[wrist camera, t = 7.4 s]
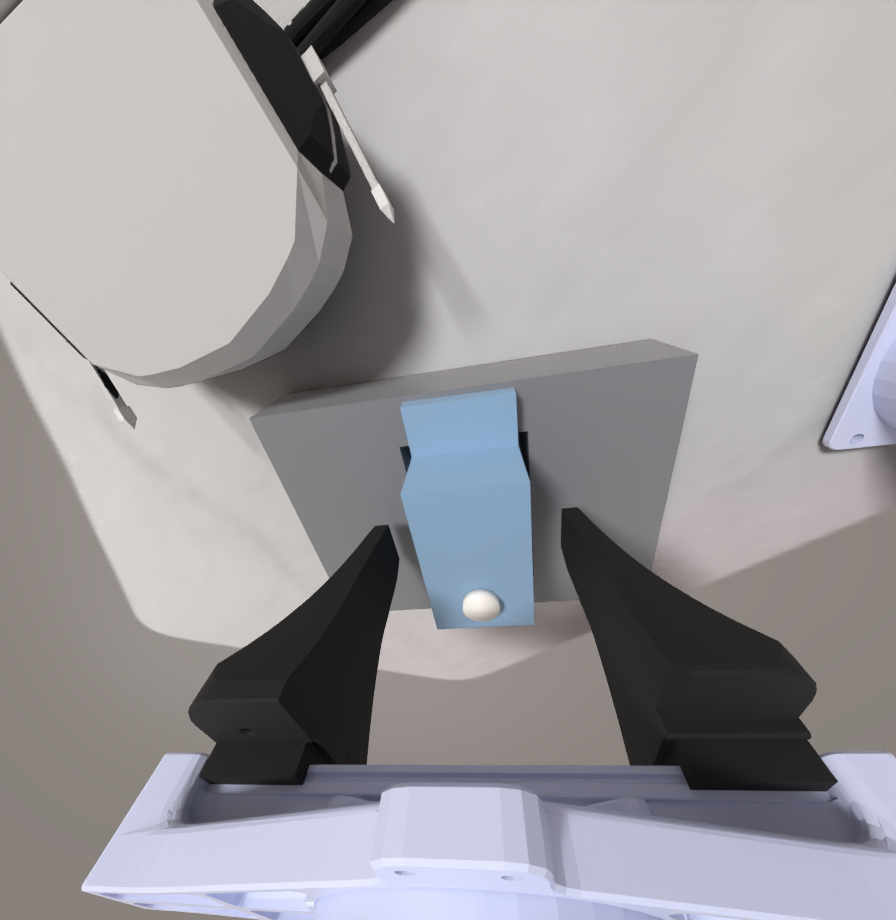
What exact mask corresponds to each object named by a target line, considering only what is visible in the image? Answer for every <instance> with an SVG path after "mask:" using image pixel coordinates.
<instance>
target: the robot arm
mask: <svg viewBox="0 0 896 920" xmlns="http://www.w3.org/2000/svg"><path fill="white" fill-rule="evenodd" d="M822 443H823V445H824V446H826V447H828V448H830V449H832V450H843V449H853V448H862V447H872V446H882V445H891V444H896V283H895V285H894V287H893V289H892V291H891V294H890V296H889V298H888V300H887V302H886V304H885V307H884V309H883V311H882V313H881V315H880V317H879V319H878V322H877V324H876V326H875V328H874V330H873V332H872V334H871V337H870V339H869V341H868V343H867V345H866V347H865V349H864V352H863V354H862V356H861V358H860V360H859V362H858V365H857V367H856V369H855V371H854V373H853V375H852V377H851V380H850V382H849V384H848V386H847V388H846V390H845V392H844V395H843V397H842V399H841V401H840V403H839V405H838V408H837V410H836V412H835V414H834V416H833V418H832V420H831V423H830V425H829V427H828V429H827V431H826V433H825V435H824V438H823V442H822ZM561 549H562V553H563V556H564V560H565V563H566V567H567V570H568V573H569V575H570V578H571V580H572V583H573V585H574V588H575V590H576V592H577V595H578V597H579V600H580V602H581V604H582V607H583V609H584V612H585V614H586V617H587V619H588V621H589V624H590V627H591V630H592V632H593V635H594V638H595V642H596V645H597V648H598V651H599V655H600V658H601V661H602V665H603V668H604V671H605V675H606V678H607V682H608V685H609V689H610V692H611V696H612V699H613V703H614V707H615V710H616V714H617V717H618V721H619V725H620V728H621V732H622V736H623V740H624V744H625V748H626V752H627V755H628V759H629V763H630V766H587V765H585V766H583V765H582V766H580V765H578V766H577V765H561V766H560V765H558V766H557V765H552V766H551V765H367V754H368V742H369V733H370V723H371V714H372V706H373V697H374V690H375V682H376V675H377V668H378V662H379V655H380V649H381V643H382V638H383V634H384V630H385V626H386V622H387V618H388V614H389V610H390V607H391V603H392V599H393V595H394V591H395V587H396V583H397V576H398V569H399V560H400V558H399V555H398V552H397V549H396V546H395V543H394V540H393V537H392V534H391V531H390V528H389V525H379V526H374V528H373V529H372V530H371V531H370V532H369V533H368V535H367V536H366V537H365V538H364V540H363V541H362V542H361V543H360V544H359V546H358V547H357V548H356V549H355V550H354V552H353V553H352V554H351V555H350V556H349V558H348V559H347V560H346V561H345V562H344V563H343V564H342V566H341V567H340V568H339V569H338V570H337V571H336V572H335V573H334V574H333V575H332V576H331V577H330V578H329V580H328V581H327V582H326V583H325V584H324V585H323V586H322V587H321V588H319V589H318V590H317V591H316V592H315V593H314V594H313V595H312V596H311V597H310V598H309V599H308V600H306V601H305V602H304V603H303V604H302V605H301V606H299V607H298V608H297V609H296V610H294V611H293V612H292V613H291V614H290V615H288V616H287V617H286V618H285V619H283V620H282V621H281V622H280V623H278V624H277V625H276V626H274V627H273V628H272V629H270V630H269V631H267V632H266V633H265V634H263V635H262V636H260V637H259V638H257V639H256V640H255V641H253V642H252V643H250V644H249V645H247V646H245V647H244V648H242V649H241V650H239V651H238V652H236V653H234V654H233V655H231V656H230V657H228V658H227V659H225V660H223V661H222V662H220V663H218V664H217V666H216V667H215V669H214V670H213V672H212V673H211V675H210V676H209V678H208V679H207V681H206V682H205V684H204V686H203V687H202V689H201V690H200V692H199V693H198V695H197V696H196V698H195V699H194V701H193V702H192V704H191V706H190V708H189V711H188V713H189V717H190V719H191V721H192V722H193V723H194V724H195V725H196V726H197V727H198V728H199V729H200V730H202V731H203V732H204V733H205V734H207V735H208V736H209V737H210V738H211V739H213V740H214V741H215V742H216V745H215V747H214V749H213V751H212V753H211V755H208V754H204V753H197V752H194V753H193V752H173V753H172V752H169V753H167V754H165V755H164V757H163V759H162V760H161V762H160V763H159V765H158V766H157V768H156V770H155V771H154V773H153V774H152V776H151V778H150V779H149V781H148V782H147V784H146V786H145V787H144V789H143V790H142V792H141V793H140V795H139V796H138V798H137V800H136V801H135V803H134V804H133V806H132V808H131V809H130V811H129V812H128V814H127V816H126V817H125V818H124V820H123V822H122V823H121V825H120V826H119V828H118V830H117V831H116V833H115V834H114V836H113V837H112V839H111V841H110V842H109V844H108V845H107V847H106V849H105V850H104V852H103V853H102V855H101V856H100V858H99V860H98V861H97V863H96V864H95V866H94V867H93V869H92V871H91V872H90V874H89V875H88V877H87V878H86V880H85V882H84V883H83V885H82V891H84V892H87V893H91V894H95V895H98V896H102V897H106V898H109V899H113V900H116V901H120V902H124V903H127V904H131V905H134V906H138V907H141V908H145V909H154V910H167V911H168V910H169V911H181V912H192V913H202V914H213V915H223V916H232V917H241V918H250V919H259V920H896V758H895V757H894V756H893V755H892V754H890V753H888V752H886V751H835V752H828V753H824V754H821V755H818V754H817V752H816V751H815V750H814V748H813V747H812V746H811V744H810V743H809V742H808V740H807V739H810V738H811V734H810V732H809V731H808V729H807V728H806V727H805V725H804V724H803V723H802V721H801V720H800V719H799V716H800V715H801V714H802V713H803V711H804V710H805V709H806V708H807V706H808V705H809V704H810V703H811V702H812V700H813V698H814V696H815V694H816V691H817V689H816V682H815V681H814V680H813V679H812V678H811V677H810V676H809V674H808V673H807V672H806V671H805V670H804V669H803V667H802V666H801V665H800V664H799V663H798V661H797V660H796V659H795V658H794V657H793V656H792V655H791V654H790V653H789V652H788V651H787V649H786V648H784V646H782V644H781V643H780V642H779V641H777V640H775V639H772V638H770V637H768V636H766V635H764V634H762V633H760V632H758V631H756V630H753V629H751V628H749V627H747V626H745V625H743V624H741V623H738V622H736V621H734V620H732V619H730V618H729V617H727V616H724V615H723V614H721V613H719V612H717V611H715V610H713V609H711V608H710V607H708V606H706V605H704V604H702V603H701V602H699V601H697V600H695V599H693V598H692V597H690V596H689V595H687V594H685V593H684V592H682V591H680V590H679V589H677V588H675V587H674V586H672V585H671V584H669V583H667V582H666V581H664V580H663V579H661V578H660V577H658V576H657V575H656V574H654V573H653V572H651V571H650V570H648V569H647V568H646V567H644V566H643V565H642V564H640V563H639V562H638V561H636V560H635V559H634V558H633V557H631V556H630V555H629V554H628V553H626V552H625V551H624V550H623V549H622V548H620V547H619V546H618V545H617V544H616V543H615V542H614V541H612V540H611V539H610V538H609V537H608V536H607V535H606V534H605V533H604V532H603V531H601V530H600V529H599V528H598V527H597V526H596V525H595V524H594V523H593V522H592V521H591V520H590V519H589V518H588V517H587V516H586V515H585V514H584V513H583V512H582V511H581V510H580V509H579V508H578V507H573V508H562V509H561Z"/></svg>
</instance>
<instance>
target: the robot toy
mask: <svg viewBox="0 0 896 920" xmlns="http://www.w3.org/2000/svg"><path fill="white" fill-rule="evenodd" d="M335 92H336V89H335V87H334V85H333V83H332V81H331V79H330V77H329V75H328V73H327V71H326V69H325V67H324V65H323V63H322V62H321V60H320V59H319V57H318V55H317V54H316V52H315V50H314V49H313V47H312V45H311V46H310V47H309V48H308V49H307V51H306V52H305V53H304V54H303V55H301V53H300V52H299V51H298V49H297V48H296V46H295V45H294V44H293V42H292V41H291V39H290V38H289V37H288V35H287V34H286V32H285V31H284V30H283V29H282V28H281V27H280V26H279V25H278V24H277V23H276V22H275V21H274V20H273V19H272V18H271V17H270V16H269V15H268V14H267V13H266V12H265V11H264V10H263V9H262V8H261V7H259V6H258V5H257V4H256V3H255V2H254V1H253V0H0V271H1V272H2V273H3V274H4V275H5V276H6V277H7V278H8V279H9V280H10V281H11V285H12V286H13V287H14V288H15V289H16V290H17V291H18V292H19V293H20V294H21V295H22V296H23V297H24V298H25V299H26V300H27V301H28V302H29V303H30V304H31V305H32V306H33V307H34V308H35V309H36V310H37V311H38V312H39V313H40V314H41V315H42V316H43V317H44V318H45V319H46V320H47V321H48V322H49V323H50V324H51V325H52V327H53V328H54V329H55V330H56V331H57V332H58V333H59V334H60V335H61V336H62V337H63V339H64V340H65V342H68V343H69V344H70V345H71V346H72V347H73V348H74V349H75V350H76V351H77V352H78V353H79V354H80V355H81V356H82V358H83V360H84V361H85V363H86V364H87V366H88V368H89V369H90V371H91V372H92V374H93V375H94V377H95V379H96V380H97V382H98V383H99V385H100V387H101V388H102V390H103V391H104V393H105V394H106V396H107V398H108V399H109V401H110V402H111V404H112V406H113V407H114V410H113V412H114V413H115V415H116V416H117V418H118V420H119V421H120V422H121V423H123V424H125V425H127V426H129V427H131V428H133V429H135V425H136V420H137V417H136V416H135V414H134V412H133V411H132V409H131V408H130V406H126V404H125V402H124V401H123V399H122V398H121V396H120V394H119V393H118V391H117V390H116V388H115V386H114V385H113V383H112V382H111V380H110V378H109V377H108V375H107V374H106V372H105V370H106V371H109V372H111V373H113V374H115V375H117V376H119V377H122V378H124V379H126V380H128V381H130V382H132V383H135V384H137V385H143V386H152V387H160V388H172V387H180V386H184V385H188V384H191V383H195V382H199V381H203V380H206V379H210V378H214V377H217V376H221V375H225V374H228V373H232V372H235V371H239V370H242V369H244V368H246V367H249V366H251V365H253V364H255V363H257V362H259V361H261V360H264V359H266V358H268V357H270V356H272V355H274V354H276V353H279V352H281V351H283V350H285V349H286V348H287V347H288V346H289V345H290V343H291V342H292V341H293V340H294V339H295V338H296V337H297V336H298V335H299V333H300V332H301V331H302V330H303V329H304V328H305V327H306V326H307V325H308V323H309V322H310V321H311V320H312V319H313V318H314V317H315V316H316V315H317V314H318V312H319V311H320V310H321V308H322V307H323V305H324V304H325V302H326V301H327V299H328V298H329V296H330V295H331V293H332V292H333V290H334V289H335V287H336V286H337V284H338V282H339V280H340V278H341V276H342V274H343V272H344V269H345V265H346V261H347V256H348V252H349V248H350V244H351V240H352V236H353V235H352V230H351V226H350V221H349V216H348V212H347V207H346V202H345V198H344V193H343V191H344V189H345V187H346V185H347V182H348V180H349V178H350V176H351V175H350V170H349V166H348V162H347V157H346V153H345V149H344V144H343V140H342V136H341V132H340V127H341V129H342V131H343V133H344V135H345V137H346V139H347V141H348V143H349V145H350V147H351V149H352V151H353V153H354V155H355V157H356V159H357V161H358V163H359V165H360V167H361V169H362V171H363V172H364V174H365V176H366V178H367V180H368V182H369V184H370V186H371V188H372V190H371V192H372V194H373V196H374V198H375V200H376V202H377V204H378V206H379V208H380V210H381V211H382V212H383V214H384V215H385V216H386V217H387V218H388V219H389V220H390V221H392V222H393V223H394V209H393V207H392V205H391V203H390V201H389V199H388V197H387V195H386V193H385V191H384V190H383V189H382V187H381V186H380V184H379V183H378V181H377V179H376V177H375V175H374V173H373V171H372V169H371V167H370V165H369V163H368V161H367V159H366V157H365V155H364V153H363V151H362V149H361V147H360V145H359V143H358V141H357V139H356V137H355V135H354V133H353V131H352V129H351V127H350V125H349V123H348V121H347V119H346V117H345V115H344V113H343V111H342V109H341V107H340V105H339V103H338V101H337V99H336V97H335V95H334V93H335ZM327 101H328V102H327ZM328 103H329V104H328ZM329 105H330V106H329ZM330 107H331V108H330ZM331 109H332V110H331ZM339 125H340V127H339Z"/></svg>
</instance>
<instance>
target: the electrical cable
mask: <svg viewBox="0 0 896 920" xmlns="http://www.w3.org/2000/svg"><path fill="white" fill-rule="evenodd" d="M391 1H392V0H310V1H309V2H308V3H307V4H306V5H305V6H304V7H303V8H302V9H301V10H300V11H299V12H298V13H297V14H296V16H295V17H294V18H293V19H292V20H291V22H290V23H288V25H287V26H286V27H285V28H284V29H283V30H284V31H285V32H286V34H287V35H288V37H289V38H290V39H291V41H292V42H293V44H294V45H295V46H296V48H297V49H298V51H299V52H300V53H301V55H303V54H304V53H305V52H306V51H307V49H308V48H309V47H310V46H311V45H312V47H313V49H314V50H315V52H316V54H317V55H318V57H319V59H320V60H322V59H323V58H325V57H326V56H327V55H328V54H330V53H331V52H332V51H334V50H335V49H336V48H337V47H339V46H340V45H341V44H342V43H344V42H345V41H346V40H347V39H348V38H350V37H351V36H352V35H353V34H354V33H355V32H357V31H358V30H359V29H360V28H361V27H362V26H363V25H365V24H366V23H367V22H368V21H369V20H370V19H372V18H373V17H374V16H375V15H376V14H377V13H378V12H380V11H381V10H382V9H383V8H384V7H385V6H386V5H388V4H389V3H390V2H391Z"/></svg>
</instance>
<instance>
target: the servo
mask: <svg viewBox="0 0 896 920" xmlns="http://www.w3.org/2000/svg"><path fill="white" fill-rule="evenodd" d="M400 410H401V414H402V419H403V423H404V427H405V431H406V435H407V440H408V444H409V448H410V452H411V456H412V458H411V462H410V465H409V468H408V471H407V475H406V478H405V481H404V484H403V488H402V491H401V494H400V495H401V499H402V503H403V506H404V510H405V513H406V517H407V521H408V524H409V528H410V532H411V535H412V539H413V542H414V546H415V550H416V553H417V557H418V560H419V564H420V568H421V571H422V575H423V578H424V582H425V586H426V589H427V593H428V597H429V600H430V604H431V607H432V611H433V615H434V618H435V622H436V625H437V629H454V628H476V627H498V626H521V625H534V596H533V562H532V529H531V495H530V480H529V477H528V474H527V471H526V468H525V465H524V461H523V458H522V455H521V452H520V449H519V446H518V425H517V404H516V392H515V390H514V387H513V388H506V389H498V390H491V391H483V392H475V393H468V394H460V395H453V396H445V397H438V398H430V399H422V400H415V401H407V402H403V403H402V405H401V407H400Z"/></svg>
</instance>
